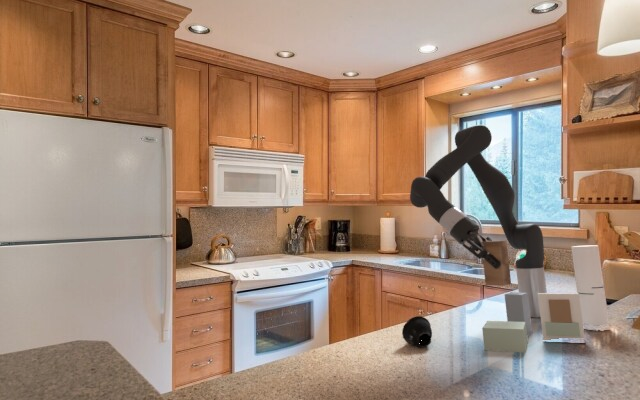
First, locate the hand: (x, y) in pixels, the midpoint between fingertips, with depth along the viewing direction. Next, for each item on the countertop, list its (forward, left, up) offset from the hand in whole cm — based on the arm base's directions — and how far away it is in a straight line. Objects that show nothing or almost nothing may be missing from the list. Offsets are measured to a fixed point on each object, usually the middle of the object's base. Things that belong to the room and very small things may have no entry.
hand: (503, 265), depth 115 cm
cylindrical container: (-32, +12, -22) cm, 41 cm away
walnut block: (0, -2, -5) cm, 6 cm away
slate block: (-16, -4, -22) cm, 27 cm away
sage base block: (0, -1, -22) cm, 22 cm away
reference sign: (-12, +9, -22) cm, 27 cm away
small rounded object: (+8, -25, -22) cm, 34 cm away
